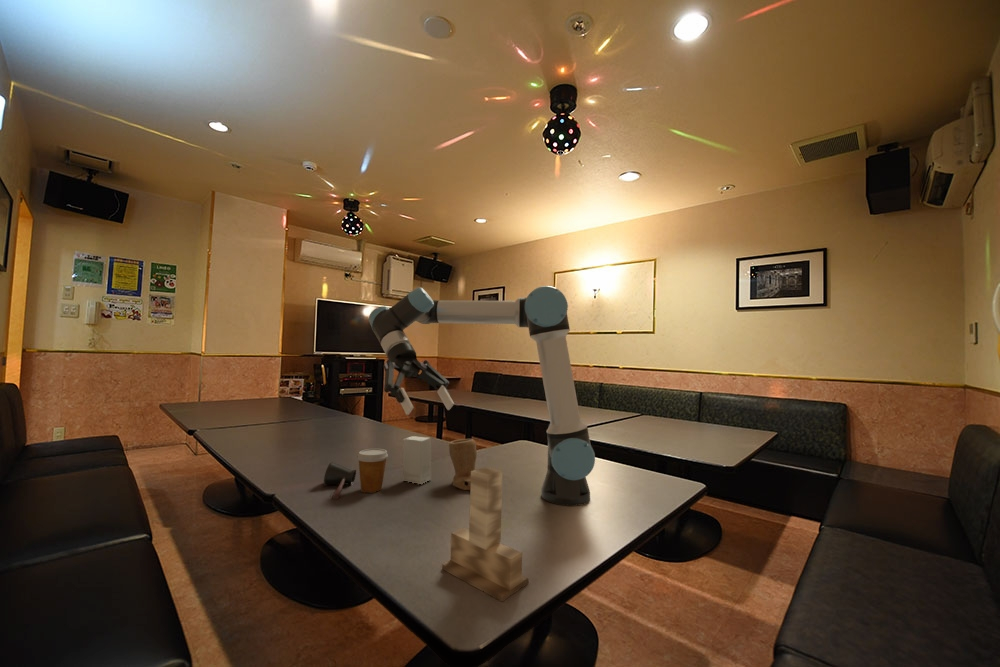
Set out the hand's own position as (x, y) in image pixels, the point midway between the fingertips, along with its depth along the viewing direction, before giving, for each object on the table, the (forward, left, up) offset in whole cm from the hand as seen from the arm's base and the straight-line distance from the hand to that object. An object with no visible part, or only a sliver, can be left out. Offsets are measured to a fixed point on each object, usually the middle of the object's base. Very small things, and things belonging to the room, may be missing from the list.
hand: (431, 409), depth 103 cm
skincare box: (+12, -35, -30) cm, 48 cm away
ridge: (-16, +22, -30) cm, 40 cm away
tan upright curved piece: (-5, -34, -30) cm, 46 cm away
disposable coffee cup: (+24, -25, -30) cm, 46 cm away
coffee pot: (+35, -24, -30) cm, 52 cm away
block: (-16, +21, -23) cm, 35 cm away
